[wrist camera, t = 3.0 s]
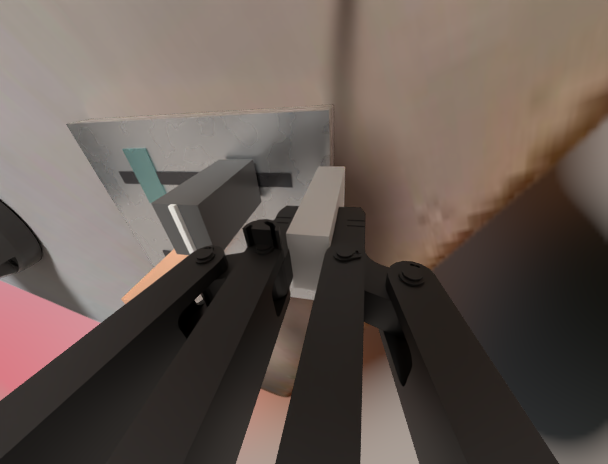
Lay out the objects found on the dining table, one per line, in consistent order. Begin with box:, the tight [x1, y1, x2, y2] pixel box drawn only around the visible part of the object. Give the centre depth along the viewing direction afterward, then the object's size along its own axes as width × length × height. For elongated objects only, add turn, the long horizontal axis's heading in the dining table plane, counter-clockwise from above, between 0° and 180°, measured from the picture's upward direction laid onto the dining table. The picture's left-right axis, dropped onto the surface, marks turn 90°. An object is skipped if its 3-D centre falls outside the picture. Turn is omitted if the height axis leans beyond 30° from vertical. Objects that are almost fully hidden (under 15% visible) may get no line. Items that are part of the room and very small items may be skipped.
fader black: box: [151, 159, 262, 255], centre depth 13 cm, size 2×3×6 cm
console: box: [66, 105, 334, 300], centre depth 20 cm, size 19×16×2 cm
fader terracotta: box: [122, 249, 189, 304], centre depth 19 cm, size 2×3×6 cm
